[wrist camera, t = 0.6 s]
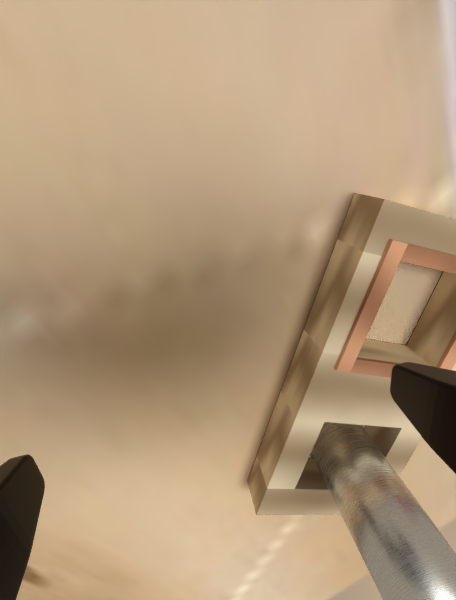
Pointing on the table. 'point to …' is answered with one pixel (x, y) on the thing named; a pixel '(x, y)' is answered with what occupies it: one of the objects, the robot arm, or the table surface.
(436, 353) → the socket board
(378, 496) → the silver metal cylinder
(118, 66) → the table surface
